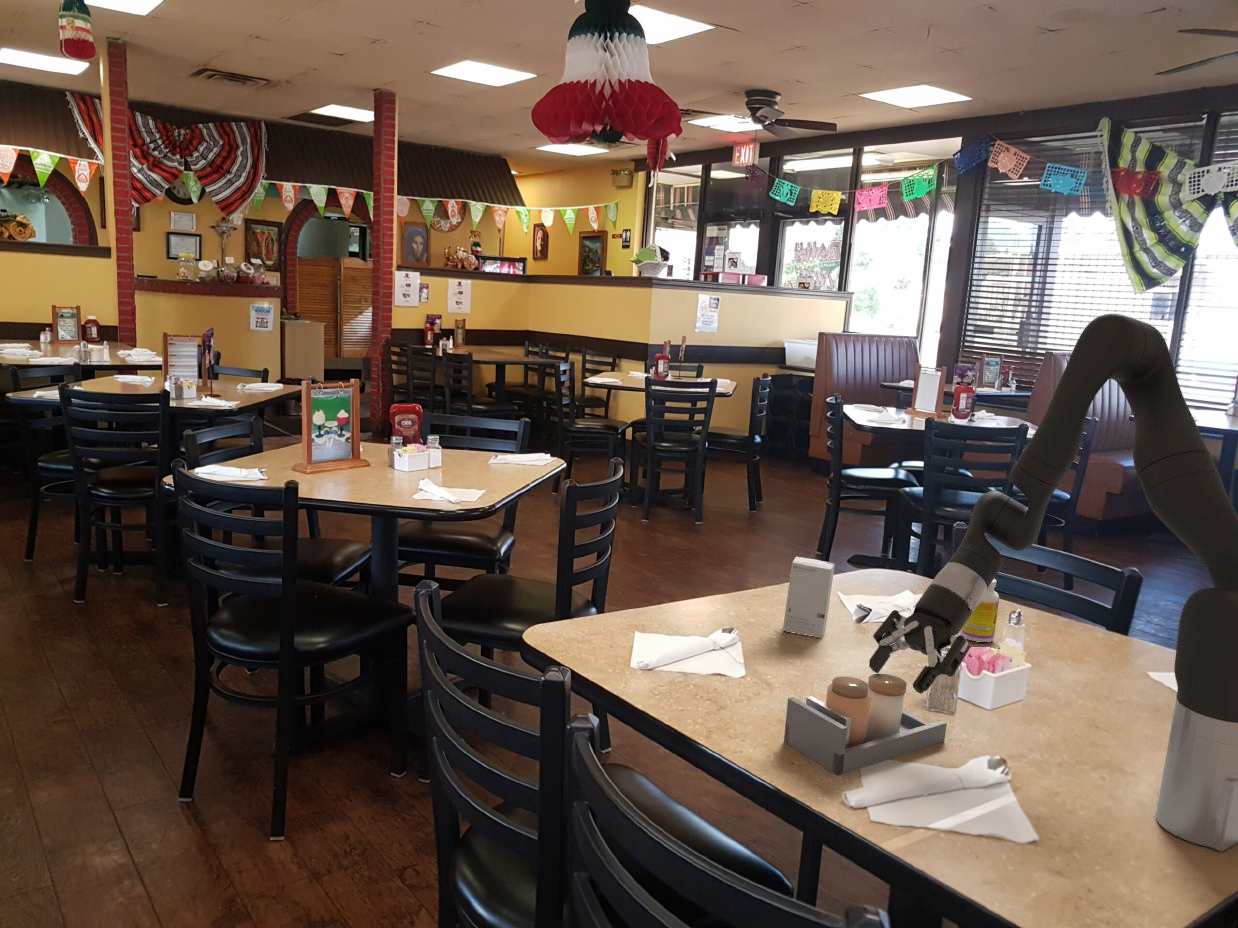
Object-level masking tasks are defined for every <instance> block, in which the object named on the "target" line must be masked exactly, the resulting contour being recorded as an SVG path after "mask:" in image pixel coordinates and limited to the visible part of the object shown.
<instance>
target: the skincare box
mask: <svg viewBox="0 0 1238 928" xmlns="http://www.w3.org/2000/svg"><path fill="white" fill-rule="evenodd" d="M835 565H836V564H835V563H834V562H830V561H829V562H828V561H824V560H823V561H822V560H819V559H813V558H807V557H801V556H795V557H794V559H793V561H792V563H791V568H790V574H789V581H788V582H789V583H788V590H787V598H786V604H785V612H784V619H783V626H782V627H783V628H782V630H783V631H788V632H795V633H800V634H807V635H812V636H815V637H814V638H816V637H821V638H820V639H823V636H824V634H825V632H826V630H827V621H828V616H829V615H828V614H829V608H830V603H831V602H830V601H831V592H832V587H833V580H834V573H835Z"/></svg>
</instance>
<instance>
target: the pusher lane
mask: <svg viewBox="0 0 1238 928" xmlns="http://www.w3.org/2000/svg"><path fill="white" fill-rule="evenodd" d="M786 704H787V705H786V714H785V715H786V716H785V726H784V736H783V737H784V738H783V743H785V745H788V746H789V747H790V748H792V749H794V750H796V751H797V752H799V753H800V754H802V755H804V756H805V757H807V758H808V759H810V760H811V761H813V762H815V763H817V764H818V765H819V766H821V767H822V768H824V769H826V770H827V771H829V772H830V773H832V774H834V775H835V776H841V775H844V774H847V773H850V772H852V771H853V772H854V771H856V770H860V769H863V768H866V767H869V766H873V765H875V764H878V762H879V763H882V762H884V761H888V760H891V759H894V758H897V757H899V756H900V757H901V756H903V755H907V754H909V753H913V752H916V751H919V750H922V749H925V748H928V747H932V746H934V745H937V744H940V743H941V744H942V743H943V742H945V741H946V739H945V738H946V732H947V726H948V725H947V722H946V721H944V720H942V719H941V720H938V721H935V722H934V721H933V722H931V723H929V722H926V721H925V720H923V719H921V718H919V717H917V716H915V715H913V714H911V713H909V712H908V711H905V710H903V709H902V717H901V726H900V733H897V734H894V735H891V736H887V737H884V738H881V739H877V740H874V741H871V740H869V739H868V738H867V743H864V744H861V745H857V746H854V747H851V748H847V749H845V745H846V736H847V727H846V726H844V725H842V724H840V723H839V722H837V721H835V720H833V719H831V718H830V717H828V716H826V715H824V714H823V713H821V712H819V711H817V710H815V709H814V708H812V707H810V706H808V705H807V704H806V702H803V701H801V700H800V699H797V698H796V697H794V696H791V697H788V698H787V703H786Z"/></svg>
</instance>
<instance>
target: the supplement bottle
mask: <svg viewBox="0 0 1238 928" xmlns="http://www.w3.org/2000/svg"><path fill="white" fill-rule="evenodd" d="M996 586H997V580H996V579H995V578H994V579H993V581H992V582H991V584H990V585H989V587H988V588H987V590H986V591H985V593H984V595H983V597H982V599H981V601H980V603H979V604H978V606H977V607H976V609H975V610H974V611H973V613H972V614H971V616H970V617H969V619H968V620H967V622H966V623H965V625H964V626H963V627H962V629H961V630H960V632H959V634H960V635H962V636H964V638H966V640H967V639H969V640H973V641H980V642H989V643H991V641H992V642H993V641H994V639H995V634H996V626H997V619H998V612H999V604H1000V603H999V602H1000V596H999V593H998V592H997V591H995V589H996ZM969 640H968V641H969Z"/></svg>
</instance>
